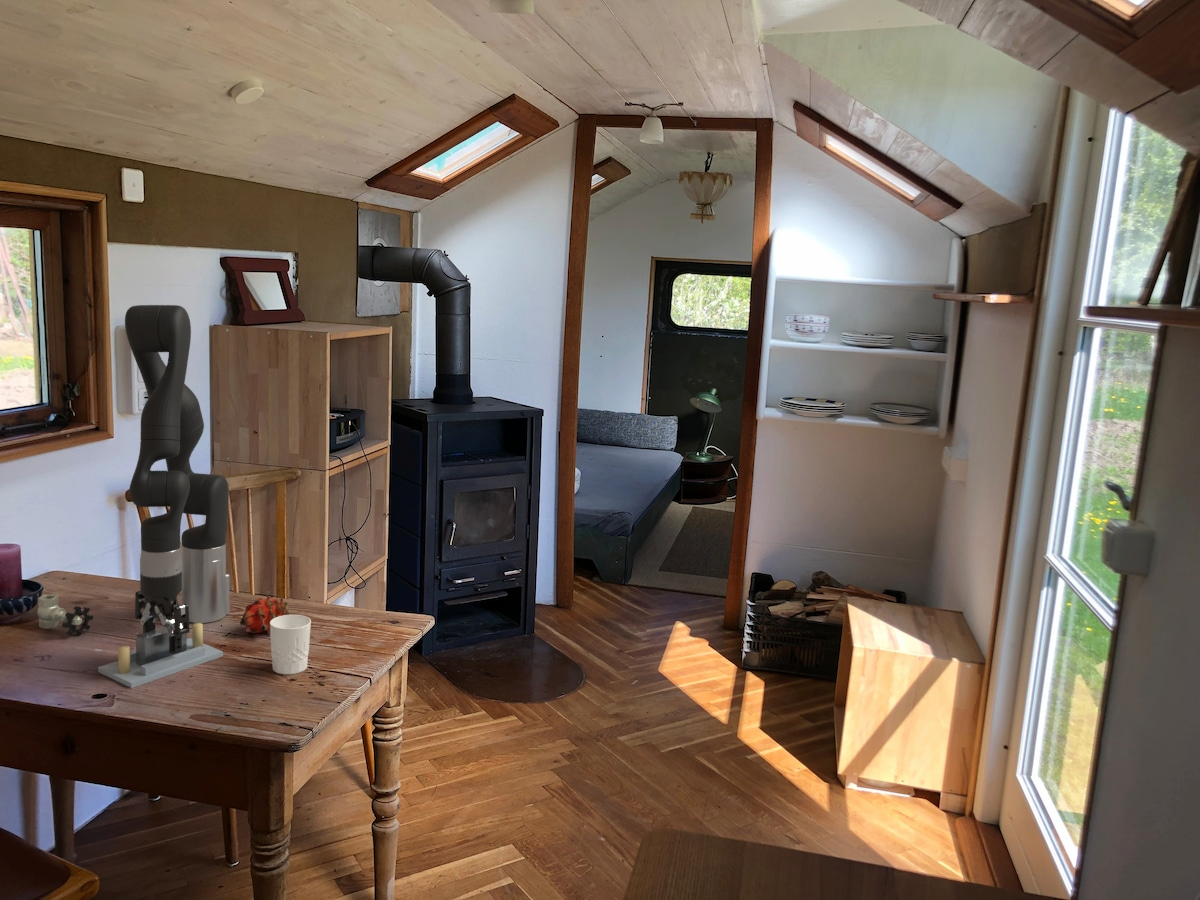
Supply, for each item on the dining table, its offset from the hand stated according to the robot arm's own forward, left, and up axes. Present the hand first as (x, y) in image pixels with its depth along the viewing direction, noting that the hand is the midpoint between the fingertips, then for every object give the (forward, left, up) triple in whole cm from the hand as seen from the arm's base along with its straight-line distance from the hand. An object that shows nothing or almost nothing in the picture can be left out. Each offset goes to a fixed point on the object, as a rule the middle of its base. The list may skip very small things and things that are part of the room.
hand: (162, 646), depth 188 cm
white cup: (-15, +20, -4) cm, 25 cm away
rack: (0, 0, -4) cm, 4 cm away
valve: (+3, -31, -4) cm, 31 cm away
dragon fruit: (-24, +1, -4) cm, 24 cm away
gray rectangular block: (0, 0, -3) cm, 3 cm away
